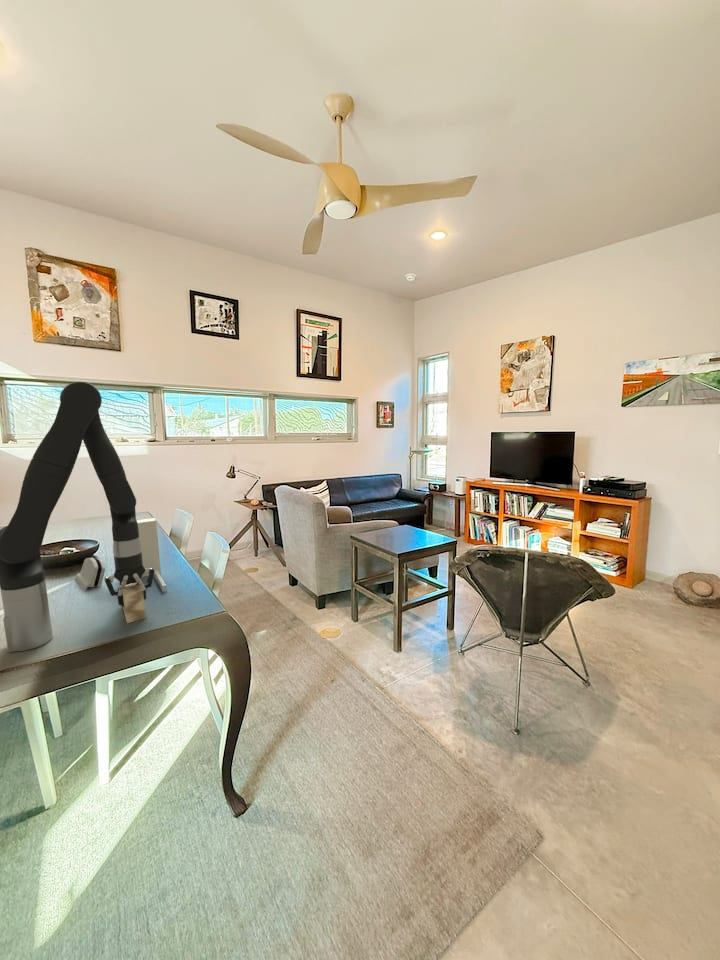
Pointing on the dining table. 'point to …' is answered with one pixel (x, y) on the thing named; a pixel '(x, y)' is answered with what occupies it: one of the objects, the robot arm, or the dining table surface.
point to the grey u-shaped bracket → (150, 548)
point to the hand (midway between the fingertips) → (132, 603)
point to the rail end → (133, 602)
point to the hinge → (91, 573)
